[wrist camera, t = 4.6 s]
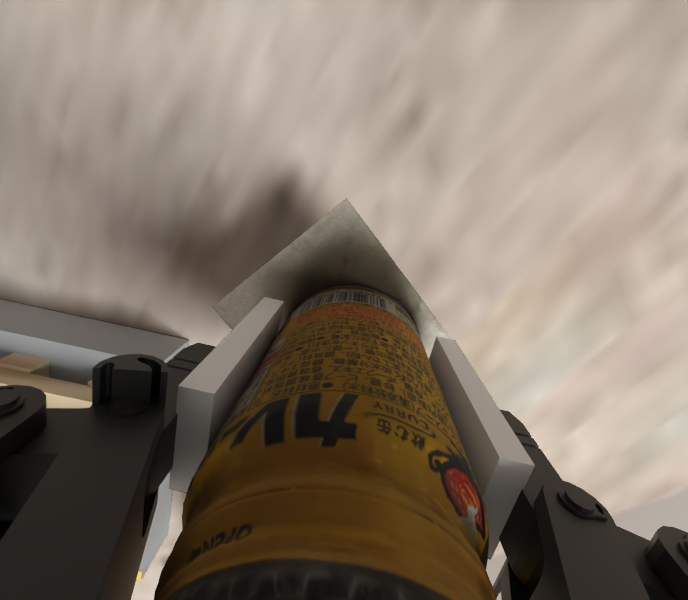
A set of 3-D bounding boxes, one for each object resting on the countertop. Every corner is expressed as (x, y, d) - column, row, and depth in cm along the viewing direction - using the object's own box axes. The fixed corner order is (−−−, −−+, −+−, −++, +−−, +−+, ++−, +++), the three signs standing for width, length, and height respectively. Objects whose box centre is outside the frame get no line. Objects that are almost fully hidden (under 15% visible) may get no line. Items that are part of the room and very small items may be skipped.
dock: (-31, 292, 19) (-102, 308, 16) (188, 340, 19) (159, 364, 16) (-16, 496, 23) (-72, 540, 20) (167, 533, 23) (140, 581, 20)
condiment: (335, 440, 17) (274, 974, 5) (213, 305, 15) (-263, 658, 4) (466, 357, 15) (787, 863, 4) (347, 197, 14) (259, 211, 2)
